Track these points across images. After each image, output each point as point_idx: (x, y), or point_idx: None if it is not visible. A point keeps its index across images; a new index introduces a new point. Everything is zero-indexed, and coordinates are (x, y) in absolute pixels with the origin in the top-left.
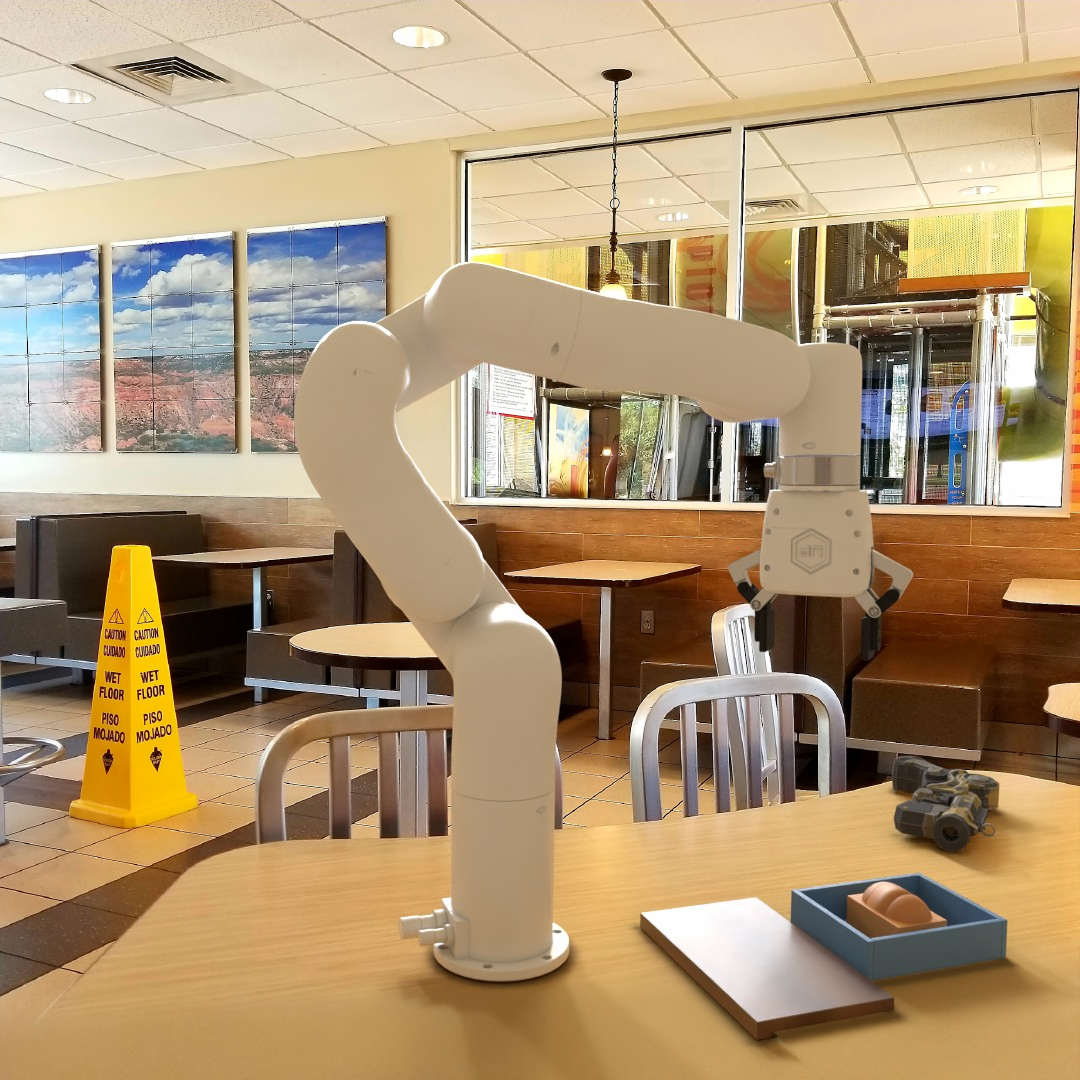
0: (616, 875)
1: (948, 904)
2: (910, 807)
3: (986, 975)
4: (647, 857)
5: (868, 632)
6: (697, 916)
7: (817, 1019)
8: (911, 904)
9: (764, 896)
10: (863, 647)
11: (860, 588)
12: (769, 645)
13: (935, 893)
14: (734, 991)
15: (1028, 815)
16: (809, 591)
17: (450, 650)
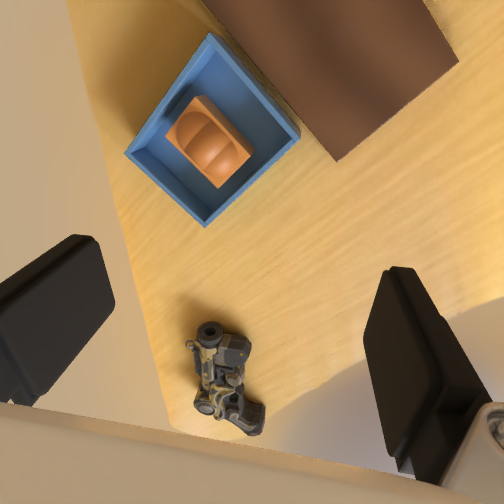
0: (484, 188)
1: (179, 191)
2: (238, 355)
3: (146, 114)
4: (451, 241)
5: (9, 277)
6: (391, 83)
7: None
8: (185, 125)
9: (332, 195)
10: (65, 250)
11: None
12: (378, 305)
13: (190, 204)
14: None
15: (182, 386)
16: (115, 450)
17: None
